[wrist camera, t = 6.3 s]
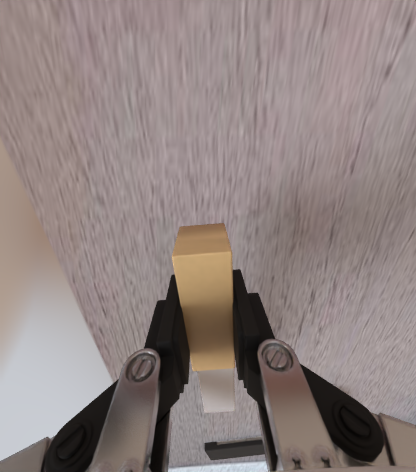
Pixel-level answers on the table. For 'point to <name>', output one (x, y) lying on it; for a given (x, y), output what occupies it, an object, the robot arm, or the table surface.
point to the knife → (208, 309)
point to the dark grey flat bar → (235, 448)
